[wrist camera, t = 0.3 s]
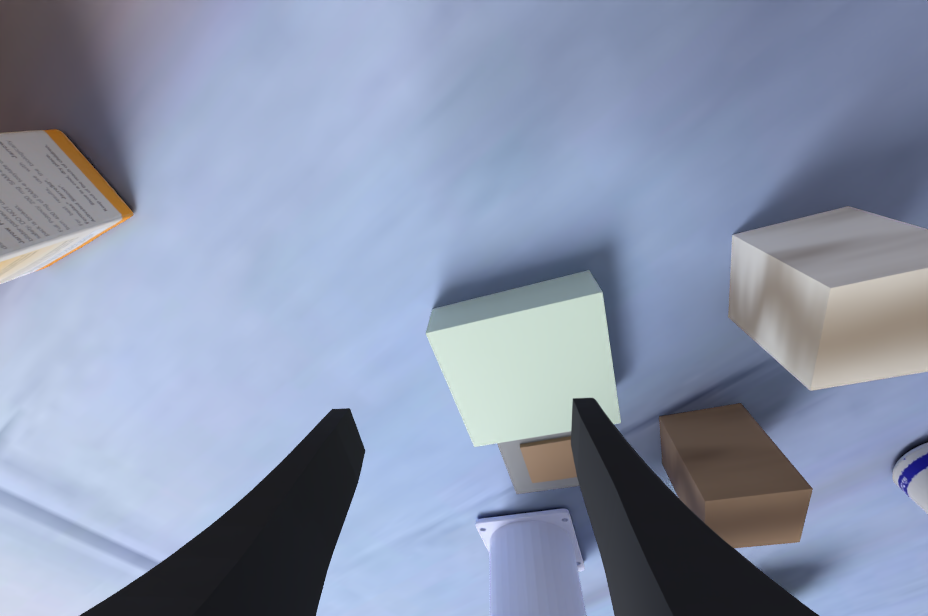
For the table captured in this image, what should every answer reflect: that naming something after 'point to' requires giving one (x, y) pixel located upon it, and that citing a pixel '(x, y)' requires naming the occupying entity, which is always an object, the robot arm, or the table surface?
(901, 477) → the white canister
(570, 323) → the green block
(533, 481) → the tile
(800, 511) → the walnut block
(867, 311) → the ash block
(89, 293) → the table surface
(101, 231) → the supplement box
